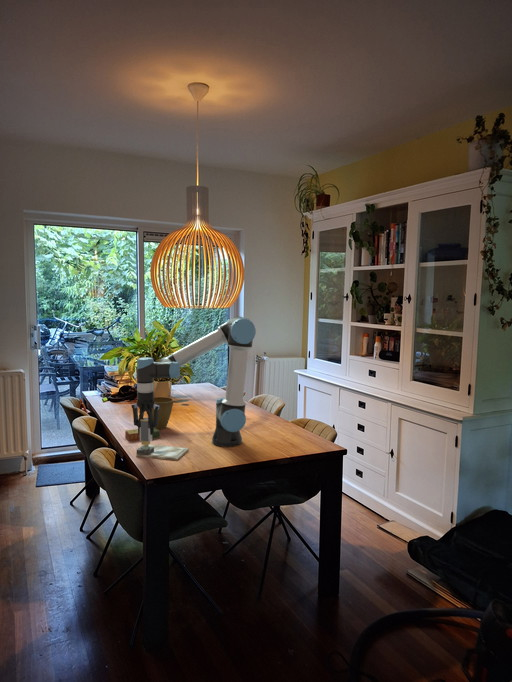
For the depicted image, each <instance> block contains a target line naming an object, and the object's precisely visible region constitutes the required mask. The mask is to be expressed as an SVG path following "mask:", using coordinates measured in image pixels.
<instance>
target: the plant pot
mask: <svg viewBox="0 0 512 682" xmlns="http://www.w3.org/2000/svg"><path fill="white" fill-rule="evenodd" d="M154 403H155V404H156V405H160V408H159V413H158V425H157V426H156V427H155V428H156V429H158V430H165V429H166V428H167V426H168V423H169V421H170V418H171V415H172V410H173V405H174V398H172V397H167V396H154ZM154 410H155V409H154V407H153V408H152V415H153V421H154Z"/></svg>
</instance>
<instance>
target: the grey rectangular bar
mask: <svg viewBox="0 0 512 682" xmlns="http://www.w3.org/2000/svg"><path fill="white" fill-rule="evenodd" d="M149 427H150V426H149V420H148V417H143V418H142V419H141V441H140V442H141V446H142V445H150V444H151V442H148V428H149Z"/></svg>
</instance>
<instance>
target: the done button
mask: <svg viewBox="0 0 512 682" xmlns="http://www.w3.org/2000/svg"><path fill="white" fill-rule="evenodd" d="M149 445H150V444H149ZM149 445H142V444H141V446H142V450H148V449H149Z"/></svg>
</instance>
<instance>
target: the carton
mask: <svg viewBox="0 0 512 682" xmlns="http://www.w3.org/2000/svg"><path fill="white" fill-rule="evenodd" d="M124 436H125V439H126V440H127V441H128V442H135V441H137V442H138V441H140V434H138V428H136V429H134V428H133V429H127V430H125V435H124ZM154 438H155V439H160V438H161V432H160V429H156V428H155V427H154V434H153V435H152V440H153V439H154Z"/></svg>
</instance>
